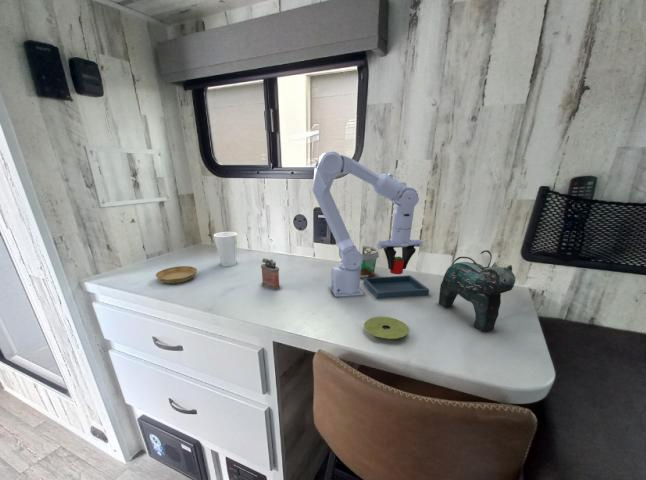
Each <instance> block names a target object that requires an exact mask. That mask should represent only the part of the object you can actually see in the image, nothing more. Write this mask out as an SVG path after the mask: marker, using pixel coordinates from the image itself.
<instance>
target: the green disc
mask: <svg viewBox="0 0 646 480" xmlns="http://www.w3.org/2000/svg"><path fill="white" fill-rule="evenodd" d="M363 328H364V330H365V331H366V332H367V333H368V334H370V335H372V336H374V337H377V338H382V339H388V340H389V339H391V340H395V339H399V338H403V337H405V336H407V335H408V334H409V332H410V330H409V329H410V328H409V327H408V325H407V324H406V323H405V322H403V321H402V320H400V319H397V318H393V317H390V316H373V317H371V318H368V319H366V320H365V321H364V323H363Z"/></svg>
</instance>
